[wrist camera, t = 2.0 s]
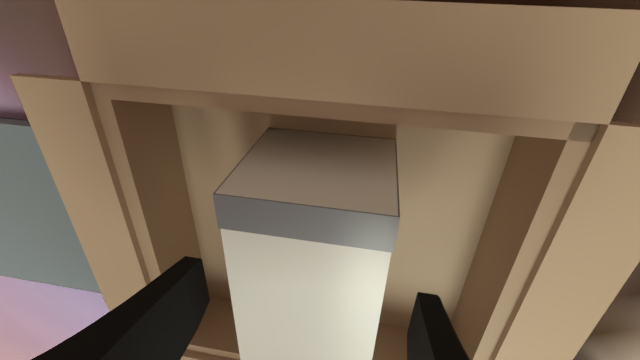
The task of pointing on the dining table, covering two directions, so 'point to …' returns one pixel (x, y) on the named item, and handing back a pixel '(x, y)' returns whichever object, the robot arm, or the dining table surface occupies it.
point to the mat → (36, 217)
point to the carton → (371, 121)
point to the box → (309, 243)
